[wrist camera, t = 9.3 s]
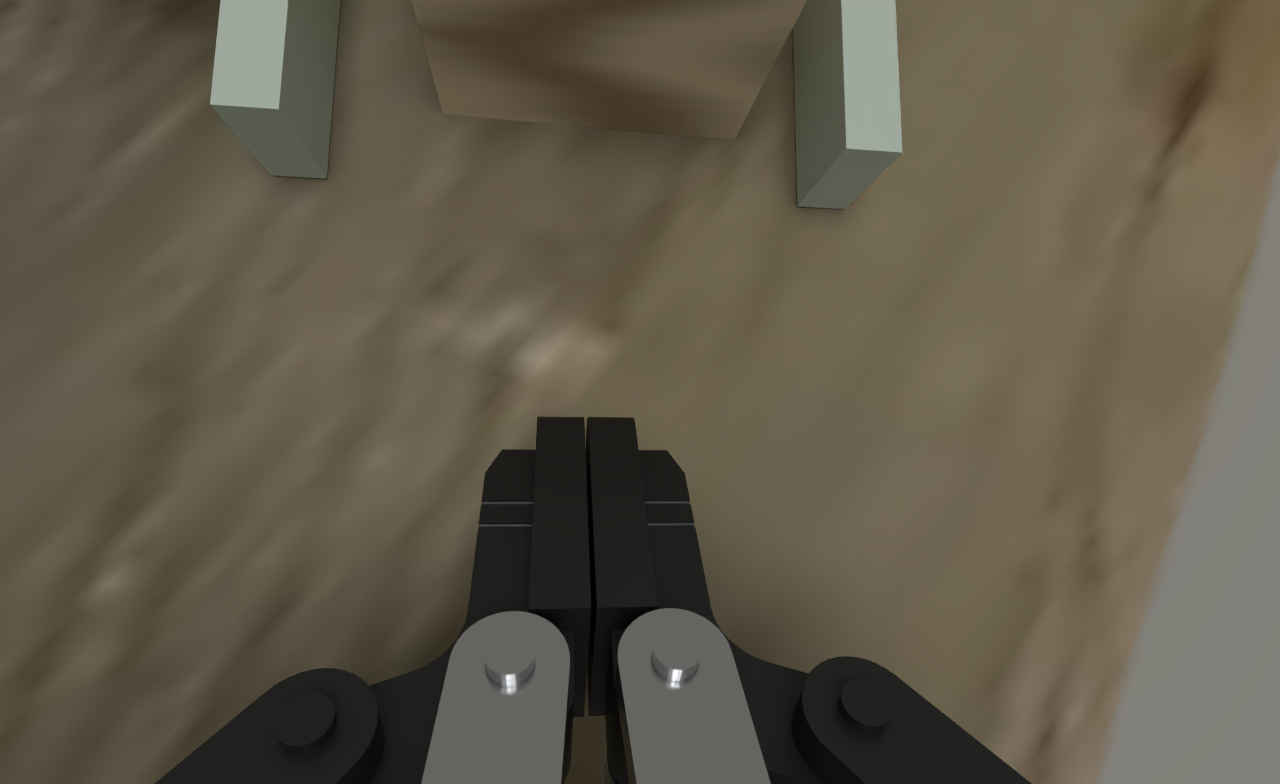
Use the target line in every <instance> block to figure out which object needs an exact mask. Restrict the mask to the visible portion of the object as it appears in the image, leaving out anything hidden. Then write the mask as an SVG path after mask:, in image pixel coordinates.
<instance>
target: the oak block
mask: <svg viewBox="0 0 1280 784" xmlns="http://www.w3.org/2000/svg"><path fill="white" fill-rule="evenodd" d="M411 1H412V4H413V8H414V11H415V15H416V19H417V22H418V26H419V29H420V33H421V37H422V40H423V44H424V47H425V51H426V55H427V58H428V62H429V65H430V69H431V73H432V76H433V80H434V84H435V87H436V91H437V94H438V98H439V102H440V105H441V109H442V112H443V114H447V115H458V116H469V117H480V118H491V119H502V120H513V121H524V122H535V123H546V124H557V125H569V126H580V127H591V128H602V129H613V130H624V131H635V132H646V133H657V134H668V135H679V136H691V137H702V138H713V139H724V140H735V139H736V137H737V135H738V133H739V131H740V129H741V127H742V125H743V123H744V122H745V120H746V118H747V116H748V114H749V112H750V110H751V108H752V106H753V104H754V102H755V100H756V98H757V96H758V94H759V92H760V90H761V89H762V87H763V85H764V83H765V81H766V79H767V77H768V75H769V73H770V71H771V69H772V67H773V65H774V63H775V61H776V59H777V57H778V55H779V54H780V52H781V50H782V48H783V46H784V44H785V42H786V40H787V38H788V36H789V34H790V32H791V30H792V28H793V26H794V24H795V22H796V21H797V19H798V17H799V15H800V13H801V11H802V9H803V7H804V5H805V3H806V1H807V0H411Z"/></svg>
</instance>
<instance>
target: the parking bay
mask: <svg viewBox="0 0 1280 784" xmlns="http://www.w3.org/2000/svg"><path fill="white" fill-rule="evenodd" d="M339 13H340V0H221V2H220V12H219V22H218V32H217V41H216V51H215V61H214V71H213V81H212V90H211V100H210V105H211V106H212V107H213V108H214V110H215V111H216V112H217V113H218V114H219V115H220V117H221V118H222V119H223V120H224V121H225V122H226V124H227V125H228V126H229V127H230V128H231V129H232V131H233V132H234V133H235V134H236V135H237V136H238V138H239V139H240V140H241V141H242V142H243V143H244V145H245V146H246V147H247V148H248V149H249V150H250V151H251V153H252V154H253V155H254V156H255V157H256V158H257V160H258V161H259V162H260V163H261V164H262V165H263V167H264V168H265V169H266V170H267V171H268V172H269V174H270V175H272V176H289V177H306V178H323V179H327V172H328V159H329V145H330V132H331V119H332V106H333V92H334V79H335V66H336V53H337V39H338V26H339ZM793 48H794V90H795V132H796V174H797V206H798V207H815V208H832V209H845V208H846V207H847V206H848V205H849V204H850V203H851V202H852V201H853V200H854V199H855V198H856V197H857V196H858V195H859V194H860V193H861V192H863V191H864V190H865V189H866V188H867V187H868V186H869V185H870V184H871V183H872V182H873V181H874V180H875V179H876V178H877V177H878V176H879V175H880V174H881V173H882V172H883V171H884V170H885V169H886V168H887V167H888V166H889V165H890V164H891V163H892V162H893V161H894V160H895V159H896V158H897V157H898V156H899V155H900V154H901V153H902V135H901V113H900V92H899V70H898V49H897V27H896V5H895V0H807V1H806V3H805V5H804V7H803V9H802V11H801V13H800V15H799V17H798V19H797V21H796V22H795V24H794V26H793Z"/></svg>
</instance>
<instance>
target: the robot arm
mask: <svg viewBox="0 0 1280 784" xmlns="http://www.w3.org/2000/svg"><path fill="white" fill-rule="evenodd" d="M587 675H588V708H589V716H600V715H605V719H606V739H607V755H606V764H605V781H606V784H1031V783H1030V782H1029V781H1028V780H1026V779H1025V778H1024V777H1023V776H1021V775H1020V774H1019V773H1018V772H1016V771H1015V770H1014V769H1013V768H1011V767H1010V766H1009V765H1007V764H1006V763H1005V762H1004V761H1002V760H1001V759H1000V758H999V757H997V756H996V755H995V754H994V753H992V752H991V751H990V750H989V749H987V748H986V747H985V746H984V745H982V744H981V743H980V742H979V741H977V740H976V739H975V738H974V737H972V736H971V735H970V734H969V733H967V732H966V731H965V730H963V729H962V728H961V727H960V726H958V725H957V724H956V723H955V722H953V721H952V720H951V719H950V718H948V717H947V716H946V715H945V714H943V713H942V712H941V711H940V710H938V709H937V708H936V707H935V706H933V705H932V704H931V703H930V702H928V701H927V700H926V699H924V698H923V697H922V696H921V695H919V694H918V693H917V692H916V691H914V690H913V689H912V688H911V687H909V686H908V685H907V684H906V683H904V682H903V681H902V680H901V679H899V678H898V677H897V676H896V675H894V674H893V673H891V672H890V671H889V670H887V669H886V668H884V667H882V666H880V665H878V664H876V663H874V662H871V661H868V660H866V659H861V658H857V657H847V656H845V657H835V658H832V659H828V660H826V661H824V662H822V663H820V664H819V665H817V666H816V667H815V668H813V670H812V671H811V672H810V673H809V674H808V673H804V672H801V671H797V670H794V669H790V668H787V667H783V666H779V665H776V664H772V663H769V662H766V661H763V660H760V659H757V658H755V657H753V656H751V655H749V654H747V653H746V652H744V651H743V650H741V649H740V648H738V647H737V646H736V645H735V644H733V643H732V642H731V641H730V640H729V639H728V638H727V637H726V636H725V634H724V633H723V632H722V631H721V629H720V628H719V626H718V625H717V623H716V621H715V618H714V616H713V613H712V610H711V606H710V601H709V596H708V591H707V585H706V580H705V575H704V570H703V565H702V560H701V555H700V550H699V544H698V539H697V534H696V529H695V527H694V519H693V514H692V509H691V505H690V498H689V493H688V488H687V483H686V478H685V473H684V472H683V471H682V469H681V468H680V467H679V465H678V464H677V463H676V462H675V460H674V459H673V458H672V456H671V455H670V454H669V453H668V451H667V450H638V443H637V435H636V427H635V421H634V418H620V417H588V418H587V429H586V448H585V428H584V417H537V437H536V450H501V452H500V453H499V455H498V456H497V457H496V459H495V460H494V462H493V463H492V464H491V466H490V467H489V468H488V470H487V471H486V473H485V479H484V487H483V495H482V506H481V511H480V519H479V528H478V535H477V543H476V551H475V559H474V567H473V575H472V583H471V591H470V599H469V608H468V614H467V619H466V622H465V625H464V627H463V630H462V631H461V633H460V635H459V636H458V638H457V640H456V641H455V642H454V643H453V644H452V646H451V647H450V648H449V649H448V650H447V651H446V652H445V653H443V654H442V655H441V656H440V657H438V658H437V659H436V660H434V661H433V662H431V663H429V664H428V665H426V666H424V667H422V668H420V669H417V670H415V671H412V672H410V673H407V674H404V675H401V676H398V677H395V678H392V679H389V680H386V681H382V682H379V683H376V684H373V685H370V686H368V685H367V684H366V683H365V682H364V681H363V680H362V679H361V678H359V677H358V676H356V675H355V674H353V673H350V672H347V671H345V670H340V669H334V668H321V669H314V670H309V671H305V672H301V673H298V674H296V675H293V676H291V677H289V678H287V679H285V680H283V681H281V682H279V683H278V684H276V685H275V686H273V687H272V688H271V689H269V690H268V691H267V692H265V693H264V694H263V695H262V696H260V697H259V698H258V699H257V700H256V701H254V702H253V703H252V704H251V705H250V706H248V707H247V708H246V709H245V710H243V711H242V712H241V713H240V714H239V715H237V716H236V717H235V718H234V719H233V720H231V721H230V722H229V723H228V724H227V725H225V726H224V727H223V728H222V729H220V730H219V731H218V732H217V733H216V734H214V735H213V736H212V737H211V738H210V739H208V740H207V741H206V742H205V743H203V744H202V745H201V746H200V747H199V748H197V749H196V750H195V751H194V752H193V753H191V754H190V755H189V756H188V757H187V758H185V759H184V760H183V761H182V762H180V763H179V764H178V765H177V766H176V767H174V768H173V769H172V770H171V771H170V772H168V773H167V774H166V775H165V776H163V777H162V778H161V779H160V780H159V781H157V782H156V783H155V784H565V779H566V777H567V774H568V771H569V767H570V761H571V746H572V727H573V717H582V716H584V706H585V691H586V677H587Z"/></svg>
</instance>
